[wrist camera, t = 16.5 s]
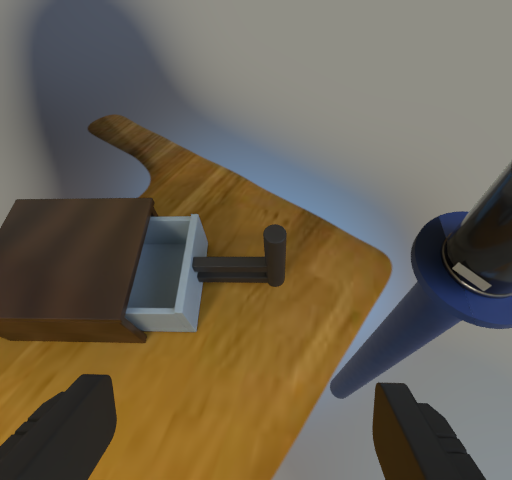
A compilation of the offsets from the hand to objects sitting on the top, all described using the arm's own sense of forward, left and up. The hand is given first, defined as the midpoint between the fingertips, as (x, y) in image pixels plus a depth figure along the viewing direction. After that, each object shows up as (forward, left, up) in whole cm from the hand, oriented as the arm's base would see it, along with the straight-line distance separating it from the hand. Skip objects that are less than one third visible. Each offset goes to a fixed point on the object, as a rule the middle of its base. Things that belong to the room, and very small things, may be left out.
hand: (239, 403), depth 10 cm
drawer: (+10, -14, -23) cm, 29 cm away
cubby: (+20, -14, -23) cm, 34 cm away
